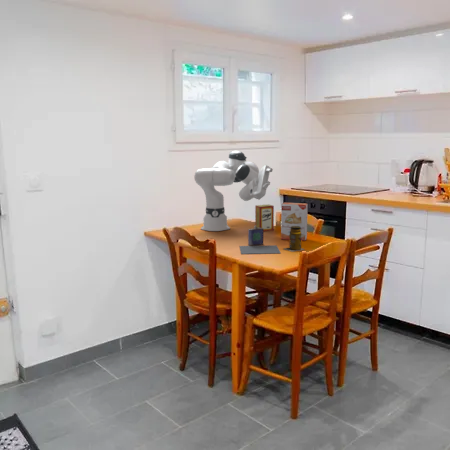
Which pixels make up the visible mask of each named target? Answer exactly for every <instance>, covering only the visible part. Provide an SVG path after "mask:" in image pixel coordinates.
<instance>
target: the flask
mask: <svg viewBox="0 0 450 450" xmlns="http://www.w3.org/2000/svg"><path fill="white" fill-rule="evenodd" d="M247 232H248V234H247V235H248V236H247V237H248V238H247V239H248V241H247V242H248V244H247V246H264V231H263V228H260V227H258V228H257V227H256V225H255V224H254V226H253V228H249V229H247Z"/></svg>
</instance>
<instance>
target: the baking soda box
mask: <svg viewBox="0 0 450 450" xmlns="http://www.w3.org/2000/svg"><path fill="white" fill-rule="evenodd" d="M254 209H255V210H254V211H255V221H254V222H255V224H254V226H255V225H256V227H257V228H258V227H260V228H263V232H270V231H272V232H273V231H274V230H275V229H274V227H275V226H274V225H275V224H274V221H275V220H274V216H275V215H274V213H275V209H274V205H272V204H257V205H255V207H254Z"/></svg>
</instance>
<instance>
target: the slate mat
mask: <svg viewBox="0 0 450 450" xmlns="http://www.w3.org/2000/svg"><path fill="white" fill-rule="evenodd" d="M239 251H240V254H241V255H261V254H262V255H266V254H269V255H271V254H273V255H275V254H278V255H279V254H282V253H281V251H280V249H279V247H278V246H277V244H276V245H275V244H273V245H271V244H270V245H269V244H268V245H253V246H251V245H250V246H249V245H239Z"/></svg>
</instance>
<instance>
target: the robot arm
mask: <svg viewBox="0 0 450 450" xmlns="http://www.w3.org/2000/svg"><path fill="white" fill-rule="evenodd" d="M247 158H248V157H247V156H246V155H245V154H244V153H243V152H242V151H241V150H232V151H230V152H229V154H228V161H226V160H219V161H217V162H216V163H215V164H214V165H213V166H212V167H210V168H209V167H208V168H207V167H206V168H205V167H204V168H198V169H197V170H196V171H195V173H194V175H193V176H194V181H195V183H196V184H197V185H198V186H199V187H200V188H201V189H202V190H203V192H204V196H205V202H206V203H205V204H206V205H205V215H204V216H203V220H202V221H203V226H201V227H200V230H202V231H209V232H219V231H220V232H221V231H227V230H231V227H230V226H229V225H228V216H227V215H226V214H225V210H226V209H225V207H224V206H225V205H224V203H225V202H224V201H225V199H224V198H225V197H224V194H223V193H222V192H220V191H218V190H217V189H216V188H215V187H225V186H231V185H233V183H244V184H245V185H244V186H243V187H242V188H241V189H240V191H239V193H238V195H239V198H240V199H241V200H242V201H245V202H247V201H250V200H253V199H256V200H258V201H259V200H261V199H263V198H264V197H265V196H266V194H267V189H268V188H269V186H270V185H271V182H270V181H269V178H270V177H269V176H270V173H272V172H273V170H274V168H271V166H269V165H267V164H265V165H263V166H262V167H261V168H260V169H259V167H258V166H257V164H256V163H255V162H253V161H250V160H249V161H247Z"/></svg>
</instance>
